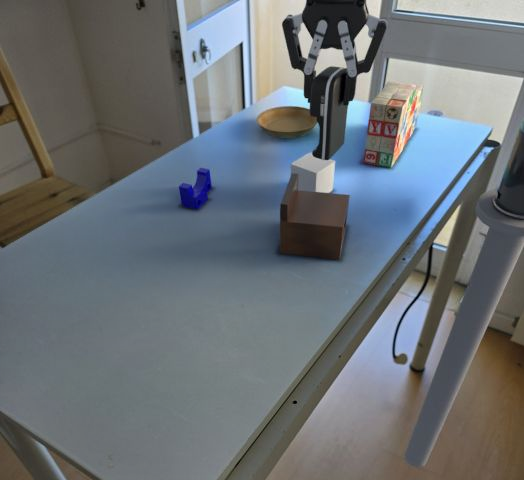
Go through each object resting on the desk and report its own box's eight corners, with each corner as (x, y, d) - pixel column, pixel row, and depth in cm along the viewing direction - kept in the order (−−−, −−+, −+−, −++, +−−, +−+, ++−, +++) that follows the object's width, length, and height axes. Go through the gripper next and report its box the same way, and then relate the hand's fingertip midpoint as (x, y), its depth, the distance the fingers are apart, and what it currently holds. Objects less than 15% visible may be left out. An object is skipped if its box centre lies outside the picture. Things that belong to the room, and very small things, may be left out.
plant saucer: (290, 148, 106) (290, 137, 104) (244, 131, 113) (243, 119, 111) (331, 127, 113) (332, 116, 111) (285, 112, 120) (285, 101, 118)
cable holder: (197, 209, 90) (194, 190, 87) (181, 205, 91) (178, 186, 88) (218, 190, 95) (216, 170, 92) (203, 186, 96) (200, 167, 93)
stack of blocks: (389, 124, 113) (399, 67, 104) (415, 128, 111) (427, 70, 102) (362, 163, 100) (370, 101, 91) (391, 168, 98) (402, 106, 89)
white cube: (290, 193, 93) (290, 163, 89) (308, 181, 96) (309, 152, 92) (315, 203, 90) (316, 173, 86) (332, 190, 93) (335, 160, 89)
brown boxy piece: (346, 226, 85) (351, 177, 78) (339, 259, 78) (345, 210, 71) (291, 221, 86) (291, 173, 79) (280, 253, 80) (279, 203, 73)
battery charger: (323, 140, 77) (327, 61, 68) (345, 144, 75) (352, 64, 67) (304, 158, 72) (307, 76, 64) (327, 163, 71) (333, 80, 63)
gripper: (273, -46, 55) (275, 109, 67) (399, -45, 52) (376, 115, 65) (286, -56, 60) (285, 90, 72) (402, -56, 57) (380, 95, 70)
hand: (328, 101), depth 68 cm, fingers closed on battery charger, 4 cm apart
